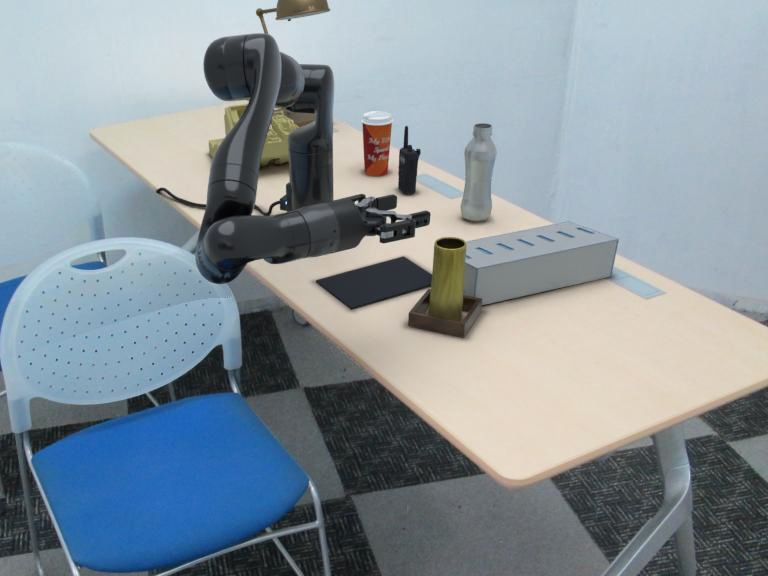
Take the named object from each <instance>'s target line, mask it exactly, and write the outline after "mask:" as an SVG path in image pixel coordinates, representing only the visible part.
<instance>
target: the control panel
mask: <svg viewBox="0 0 768 576" xmlns="http://www.w3.org/2000/svg"><path fill="white" fill-rule="evenodd" d="M247 105H248V103H243V104H236V105H229V106H227V107H225V108H224V114H223V119H224V120H223V121H224V131H225V133H224V134H225V136H226V135H227V134H228V133H229V131H230V130H231V129H232V128H233V126H234V125H235V124H236V122H237V121H238V120H239V118H240V117H241V115H242V114H243V112H244V110H245V109H246V107H247ZM274 113H281V115H279V114H278V115H273V116H272V123H271V126H270V127H269V130H268V134H267V137H266V140H265V144H264V147H263V151H262V156H261V161H260V167H266V166H267V164H274V165H283V164H284V163H289V156H288V135H289V133H290V132H291V131H293V130H294V129H297V128H299V127H298V126H297V125H295V124H294V121H293V120H290V119H289V118H287V117H286V116H284V115H283V110H281V111H279V112H273V114H274ZM224 138H225V137H224ZM224 138H217V139H215V138H214V139H209V140H208V152H209V153H208V154H209V156H211V158H212V159H213V157H214V154H215V152H216V150H217V148H218V146H219V145H220V143H221V142H222V140H223V139H224Z"/></svg>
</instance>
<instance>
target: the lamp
mask: <svg viewBox="0 0 768 576" xmlns="http://www.w3.org/2000/svg"><path fill="white" fill-rule="evenodd" d="M329 12H331V8H330V7H329V3H328V0H277V2H276V7H273V8H265V9H262V8H260V7H259V8H257V9H256V11H255V14H256V16H257V17H258V18H259V20H260V24H261V27H262V30H263V33H265V34H269V32H268V28H267V25H266V21H265V18H264V17H265V16H264V14H265V15H266V14H267V15H268V14H270V13H275V14H276V17H275V21H286V20H287V22H291V21H292V20H293V19H301V18H306V17H311V16H315V15H321V14H325V13H329ZM281 110H282V109H281V108H276V109H274V112H279V111H281ZM278 114H279V115H281V113H274V114H273V115H278ZM283 115H284V116H286V117H287V118H289V119H290V120H293V121H294V124H295V125H297V126H298V127H302V126H305V125H308V124H310V123H312V122H313V121H315V118H316V116H315V114H299V113H289V112H286V111H284V110H283ZM270 124H272V120H271V123H270Z"/></svg>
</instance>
